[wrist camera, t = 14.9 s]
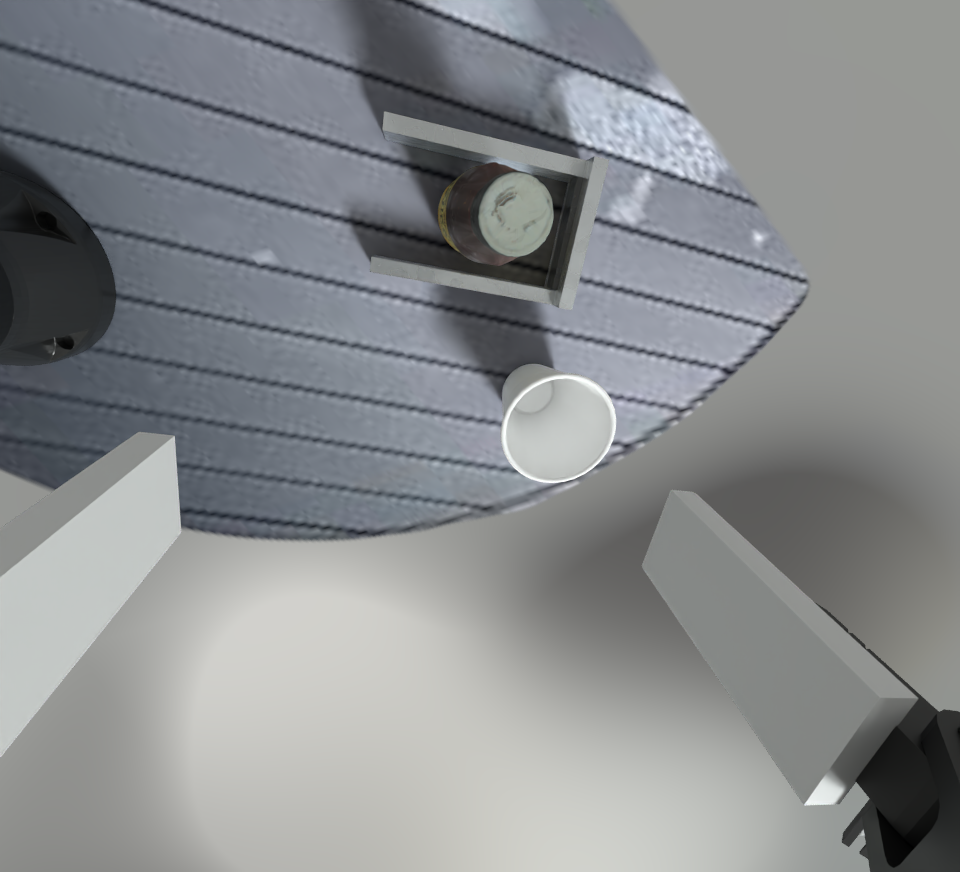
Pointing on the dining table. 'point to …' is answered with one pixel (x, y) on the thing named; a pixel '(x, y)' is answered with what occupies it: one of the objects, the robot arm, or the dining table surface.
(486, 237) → the sauce bottle
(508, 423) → the cup
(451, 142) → the frame
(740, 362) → the dining table surface
